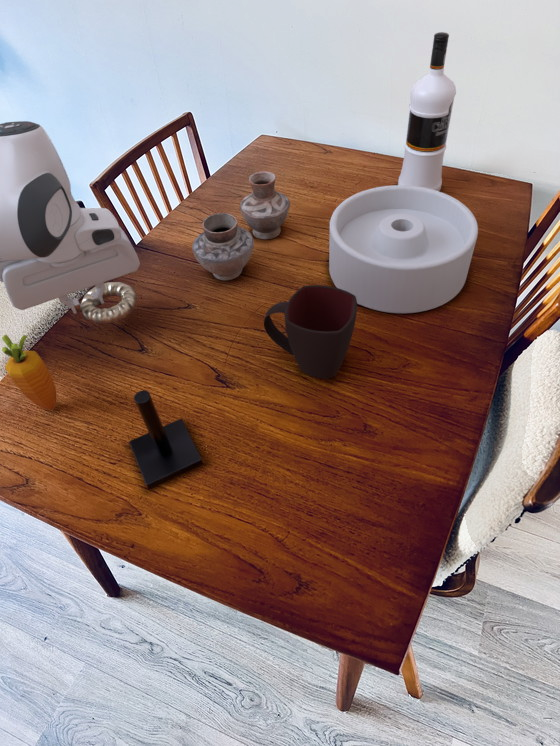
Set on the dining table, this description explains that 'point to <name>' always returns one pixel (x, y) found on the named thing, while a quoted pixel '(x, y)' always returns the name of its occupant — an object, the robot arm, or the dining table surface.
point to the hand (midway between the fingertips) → (88, 306)
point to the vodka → (429, 122)
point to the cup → (316, 328)
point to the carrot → (30, 374)
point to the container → (401, 247)
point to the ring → (113, 312)
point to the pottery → (241, 229)
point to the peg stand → (162, 445)
